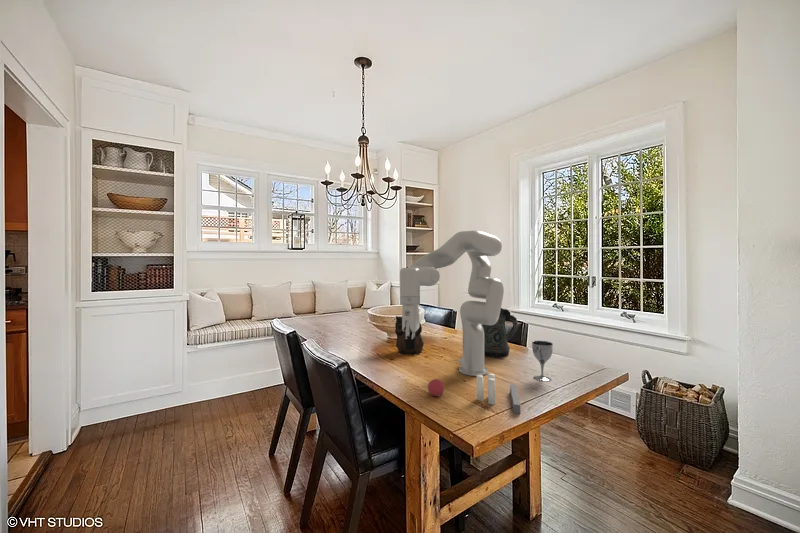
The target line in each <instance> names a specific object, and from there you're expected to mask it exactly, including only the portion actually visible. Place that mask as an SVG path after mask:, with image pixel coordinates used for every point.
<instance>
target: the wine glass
mask: <svg viewBox="0 0 800 533" xmlns="http://www.w3.org/2000/svg"><path fill="white" fill-rule="evenodd" d="M553 344H554V343H553V342H552V341H546V340H533V341H532V344H531V347H532V354H533V356H534V357H535V359H536V360H537V362H538V363H539V366H540V370H541V371H540V372H541V373H540V375H539V374H537V375H534V376H533V380H534V381H538V382H543V381H547V382H551V381H552V378H551V377H550V378H549V376H547V375H544V368H545V367H544V366H545V364H546V363H547V362H548V361H549V360H550V359H551V357H552V354H553V351H554V346H553ZM550 380H551V381H550Z"/></svg>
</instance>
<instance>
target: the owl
mask: <svg viewBox="0 0 800 533" xmlns="http://www.w3.org/2000/svg"><path fill="white" fill-rule="evenodd" d="M394 324H395V325H394V328H395V329H394V331H395V332H394V333H395V335H396V343H395V347H396V348H397V351H398V352H397V353H398V354H399V353H400V355H407V354H412V356H413V355H414V354H416V355H420V353H423V348H424V344H425V343H424V340H423V336H422V332H423V331H422V330H423V329H422V328H423V327H422V324H421V322H420V320H419V324H420V327H419V329H418V330H417V331H416V332H415V349H414V350H407V349H406V331H405V332H403V330H402V316H397V315H396V316H395V323H394ZM414 356H415V355H414Z"/></svg>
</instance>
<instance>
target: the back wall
mask: <svg viewBox="0 0 800 533" xmlns="http://www.w3.org/2000/svg"><path fill="white" fill-rule="evenodd" d="M509 393H510V400H511V403H512V411H513V414H517V415H521V402H520V397H519V393H518V388H517V385H516V384H510V385H509Z"/></svg>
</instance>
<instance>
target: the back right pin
mask: <svg viewBox="0 0 800 533" xmlns="http://www.w3.org/2000/svg"><path fill="white" fill-rule="evenodd" d="M487 404H488V405H491V406H493V405H495V404H496V378H495V379H493V378H489V379H488V378H487Z"/></svg>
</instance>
